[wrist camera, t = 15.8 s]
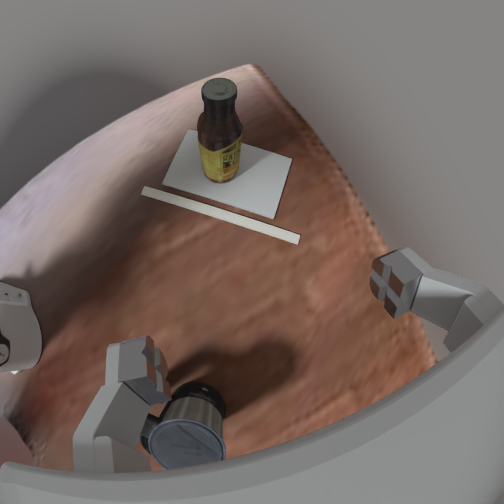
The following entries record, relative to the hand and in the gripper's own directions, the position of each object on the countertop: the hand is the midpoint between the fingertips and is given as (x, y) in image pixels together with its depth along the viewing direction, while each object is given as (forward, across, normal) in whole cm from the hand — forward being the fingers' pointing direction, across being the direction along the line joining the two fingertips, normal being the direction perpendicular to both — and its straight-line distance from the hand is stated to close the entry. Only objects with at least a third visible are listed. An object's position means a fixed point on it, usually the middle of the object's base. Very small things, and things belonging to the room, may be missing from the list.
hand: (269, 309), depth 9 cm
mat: (+40, -5, +9) cm, 41 cm away
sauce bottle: (+40, -4, +8) cm, 41 cm away
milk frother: (+12, +16, +37) cm, 42 cm away
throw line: (+35, -1, +14) cm, 37 cm away
